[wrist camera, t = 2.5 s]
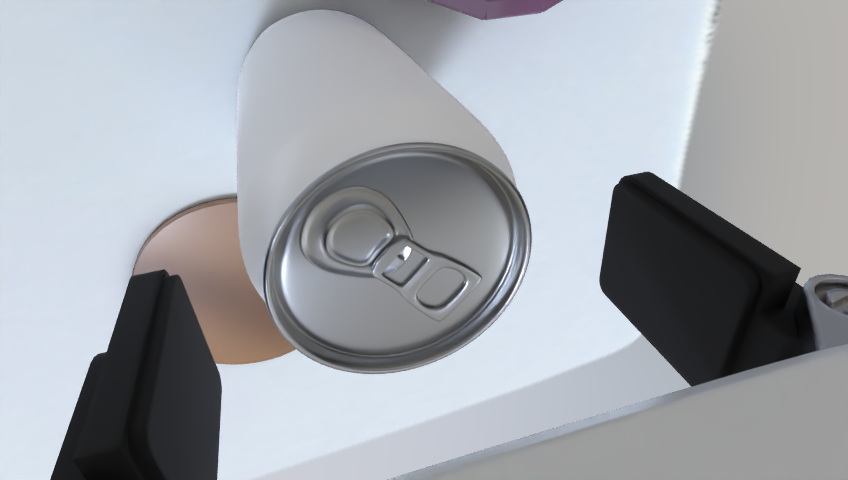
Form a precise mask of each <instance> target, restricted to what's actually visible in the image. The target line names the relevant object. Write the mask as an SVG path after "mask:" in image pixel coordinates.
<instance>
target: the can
mask: <svg viewBox="0 0 848 480" xmlns="http://www.w3.org/2000/svg"><path fill="white" fill-rule="evenodd" d="M237 199H238V227H239V240H240V247H241V252H242V256H243V260H244V264H245V267H246V270H247V273H248V275H249V278H250V280H251V282H252V284H253V285H254V287H255V289H256V290H257V292H258V293H259V295H260V296H261V298H262V299H263V300H264V301H265V303H266V306H267V309H268V312H269V314H270V316H271V318H272V320H273V322H274V324H275V326H276V327H277V329H278V330H279V332H280V333H281V334H282V336H283V337H284V338H285V339H286V340H287V341H288V342H289V343H290V344H291V345H292V346H293V347H294V348H295V349H297V350H298V351H299V352H301V353H302V354H304V355H305V356H307V357H308V358H310V359H312V360H314V361H316V362H318V363H320V364H322V365H325V366H328V367H331V368H334V369H338V370H342V371H347V372H353V373H361V374H385V373H394V372H400V371H406V370H410V369H414V368H418V367H421V366H424V365H427V364H430V363H433V362H435V361H438V360H440V359H442V358H444V357H446V356H448V355H450V354H452V353H454V352H456V351H458V350H459V349H461V348H463V347H464V346H466V345H467V344H469V343H470V342H472V341H473V340H474V339H476V338H477V337H478V336H480V335H481V334H482V333H483V332H484V331H485V330H487V329H488V328H489V327H490V326H491V325H492V324H493V323H494V322H495V321H496V320H497V319H498V317H499V316H500V315H501V314H502V313H503V312H504V310H505V309H506V308H507V306H508V305H509V304H510V302H511V301H512V299H513V297H514V296H515V294H516V292H517V291H518V289H519V287H520V285H521V282H522V280H523V278H524V275H525V273H526V270H527V266H528V263H529V258H530V253H531V243H532V234H531V223H530V218H529V214H528V210H527V208H526V205H525V202H524V200H523V198H522V196H521V194H520V192H519V191H518V189H517V187H516V183H515V178H514V175H513V171H512V168H511V166H510V163H509V161H508V159H507V157H506V155H505V153H504V151H503V150H502V148H501V147H500V145H499V144H498V142H497V141H496V140H495V138H494V137H493V135H492V134H491V133H490V132H489V131H488V130H487V128H486V127H485V126H484V125H483V124H482V123H481V122H480V121H479V120H478V119H477V118H476V117H475V116H474V115H473V114H472V113H471V112H470V111H468V110H467V109H466V108H465V107H464V106H463V105H462V104H461V103H460V102H459V101H458V100H457V99H455V98H454V97H453V96H452V95H451V94H450V93H449V92H448V91H447V90H446V89H444V88H443V87H442V86H441V85H440V84H439V83H438V82H437V81H436V80H435V79H433V78H432V77H431V76H430V75H429V74H428V73H427V72H426V71H424V70H423V69H422V68H421V67H420V66H419V65H418V64H417V63H416V62H414V61H413V60H412V59H411V58H410V57H409V56H408V55H407V54H405V53H404V52H403V51H402V50H401V49H400V48H399V47H397V46H396V45H395V44H394V43H393V42H392V41H391V40H389V39H388V38H387V37H386V36H385V35H384V34H382V33H381V32H380V31H379V30H377V29H376V28H375V27H373V26H372V25H370V24H369V23H367V22H366V21H364V20H362V19H360V18H358V17H355V16H353V15H350V14H347V13H344V12H340V11H334V10H309V11H304V12H299V13H296V14H293V15H290V16H288V17H285V18H283V19H281V20H279V21H277V22H276V23H274V24H272V25H271V26H269V27H268V28H267V29H266V30H265V31H264V32H263V33H262V34H261V35H260V36H259V37H258V38H257V40H256V41H255V43H254V44H253V46H252V47H251V49H250V51H249V53H248V55H247V57H246V59H245V61H244V64H243V66H242V69H241V73H240V76H239V81H238V90H237Z"/></svg>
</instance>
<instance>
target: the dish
mask: <svg viewBox="0 0 848 480" xmlns="http://www.w3.org/2000/svg"><path fill="white" fill-rule="evenodd" d="M427 1H429V2H432V3H435V4H437V5H440V6H443V7H446V8H449V9H452V10H455V11H458V12H461V13H463V14H466V15H469V16H472V17H475V18H478V19H481V20H491V19H499V18H507V17H514V16H522V15H530V14H538V13H541V12H544V11H546V10H548V9H549V8H551V7H553V6H554V5H556V4H558V3H559V2H561V1H563V0H427Z"/></svg>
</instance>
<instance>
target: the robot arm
mask: <svg viewBox="0 0 848 480" xmlns="http://www.w3.org/2000/svg"><path fill="white" fill-rule="evenodd" d="M800 269H801V268H800V267H798V266H796V265H795V264H793V263H792V262H790V261H789V260H787V259H785V258H784V257H782V256H781V255H779V254H778V253H776V252H775V251H773V250H772V249H770V248H768V247H767V246H765V245H764V244H762V243H761V242H759V241H758V240H756V239H754V238H753V237H751V236H750V235H748V234H746V233H745V232H743V231H742V230H740V229H739V228H737V227H736V226H734V225H733V224H731V223H729V222H728V221H726V220H725V219H723V218H721V217H720V216H718V215H717V214H715V213H714V212H712V211H711V210H709V209H707V208H706V207H704V206H703V205H701V204H700V203H698V202H697V201H695V200H693V199H692V198H690V197H689V196H687V195H686V194H684V193H683V192H681V191H679V190H678V189H676V188H675V187H673V186H672V185H670V184H668V183H667V182H665V181H664V180H662V179H661V178H659V177H658V176H656V175H654V174H653V173H650V172H643V173H638V174H633V175H628V176H624V177H623V178H621V180H620V181H619V184H617V185H616V186H615V187H614V190H613V195H612V201H611V208H610V214H609V220H608V227H607V233H606V240H605V246H604V252H603V259H602V265H601V272H600V279H599V281H600V286H601V289H602V291H603V293H604V294H605V295H606V296H607V297H608V298H609V299H610V300H611V302H612V303H613V304H614V305H615V306H616V307H617V308H618V309H619V310H620V311H621V312H622V313H623V314H624V315H625V316H626V318H627V319H628V320H629V321H630V322H631V323H632V324H633V325H634V326H635V327H636V328H637V329H638V330H639V331H640V332H641V333H642V335H643V336H644V337H645V338H646V339H647V340H648V341H649V342H650V343H651V344H652V345H653V346H654V347H655V348H656V349H657V350H658V351H659V353H660V354H661V355H662V356H663V357H664V358H665V359H666V360H667V361H668V362H669V363H670V364H671V365H672V366H673V367H674V369H675V370H676V371H677V372H678V373H679V374H680V375H681V376H682V377H683V378H684V379H685V380H686V381H687V382H688V383H689V384H690V386H691V387H689V388H686V389H683V390H679V391H676V392H672V393H669V394H666V395H662V396H659V397H656V398H652V399H649V400H646V401H643V402H639V403H636V404H632V405H629V406H626V407H623V408H619V409H616V410H612V411H609V412H606V413H603V414H599V415H596V416H593V417H590V418H586V419H583V420H579V421H576V422H573V423H569V424H566V425H563V426H560V427H556V428H553V429H550V430H546V431H543V432H540V433H537V434H533V435H530V436H527V437H523V438H520V439H517V440H514V441H511V442H507V443H504V444H501V445H498V446H494V447H491V448H487V449H484V450H481V451H478V452H474V453H471V454H468V455H465V456H462V457H458V458H455V459H452V460H449V461H446V462H442V463H439V464H436V465H432V466H429V467H426V468H423V469H420V470H416V471H413V472H410V473H407V474H403V475H400V476H397V477H394V478H391V479H387V480H848V276H844V275H834V274H825V275H818V276H815V277H812V278H809V280H808V281H807V282H806V283H805V284H804V287H802V286H800V285H799V284H797V283H796V282H795V281H796V279H797V277H798V274H799V272H800ZM221 394H222V386H221V379H220V375H219V371H218V369H217V366H216V364H215V361H214V359H213V356H212V354H211V351H210V349H209V346H208V344H207V341H206V339H205V336H204V334H203V331H202V329H201V326H200V324H199V321H198V319H197V317H196V314H195V312H194V309H193V307H192V304H191V302H190V299H189V297H188V294H187V292H186V289H185V287H184V284H183V282H182V279H181V277H180V276H179V275H178V274H176V275H171V276H170V275H169V273H168V272H167V271H166V270H164V269H163V270H158V271H153V272H148V273H143V274H138V275H134V276H131V278H130V280H129V284H128V287H127V290H126V293H125V296H124V299H123V302H122V306H121V309H120V312H119V315H118V318H117V321H116V324H115V328H114V331H113V334H112V337H111V340H110V343H109V346H108V350H107V352H105V353H101V354H98V355H96V356H95V357H94V358H93V360H92V362H91V364H90V367H89V369H88V372H87V375H86V378H85V381H84V384H83V387H82V390H81V393H80V395H79V398H78V401H77V404H76V407H75V410H74V413H73V416H72V419H71V421H70V424H69V427H68V430H67V433H66V436H65V439H64V442H63V445H62V447H61V450H60V453H59V456H58V459H57V462H56V465H55V468H54V471H53V473H52V476H51V479H50V480H217V471H218V452H219V432H220V413H221Z"/></svg>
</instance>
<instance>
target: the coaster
mask: <svg viewBox="0 0 848 480" xmlns="http://www.w3.org/2000/svg"><path fill="white" fill-rule="evenodd" d="M163 269H164V270H166V271H167V272H168V273H169V275H170V276H171V275H176V274H178V275H179V276H180V277H181V279H182V282H183V284H184V287H185V289H186V292H187V294H188V297H189V299H190V302H191V304H192V307H193V309H194V312H195V314H196V317H197V319H198V321H199V324H200V326H201V329H202V331H203V334H204V336H205V339H206V341H207V344H208V346H209V349H210V351H211V354H212V356H213V359H214V361H215V363H217V364H248V363H256V362H261V361H266V360H270V359H273V358H276V357H279V356H282V355H284V354H287V353H289V352H291V351H293V350H295V348H294V347H293V346H292V345H291V344H290V343H289V342H288V341H287V340H286V339H285V338H284V337H283V336H282V334H281V333H280V332H279V330H278V329H277V327H276V326H275V324H274V322H273V320H272V318H271V316H270V314H269V312H268V309H267V306H266V303H265V301H264V300H263V299H262V298H261V296H260V295H259V293H258V292H257V290H256V289H255V287H254V285H253V284H252V282H251V280H250V278H249V275H248V273H247V270H246V267H245V264H244V260H243V256H242V252H241V247H240V240H239V227H238V199H237V198H230V199H222V200H215V201H211V202H207V203H203V204H200V205H197V206H195V207H192V208H189V209H187V210H185V211H183V212H181V213H179V214H177V215H175V216H174V217H172V218H171V219H170V220H168V221H167V222H165V223H164V224H162V225H161V226H160V227H159V228H158V229H157V230H156V231H155V232H154V233H153V234H152V235H151V236H150V237H149V239H148V240H147V241H146V242H145V244H144V245H143V247H142V249H141V251H140V252H139V254H138V257H137V260H136V262H135V265H134V268H133V273H132V276H134V275H138V274H143V273H148V272H153V271H158V270H163Z"/></svg>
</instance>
